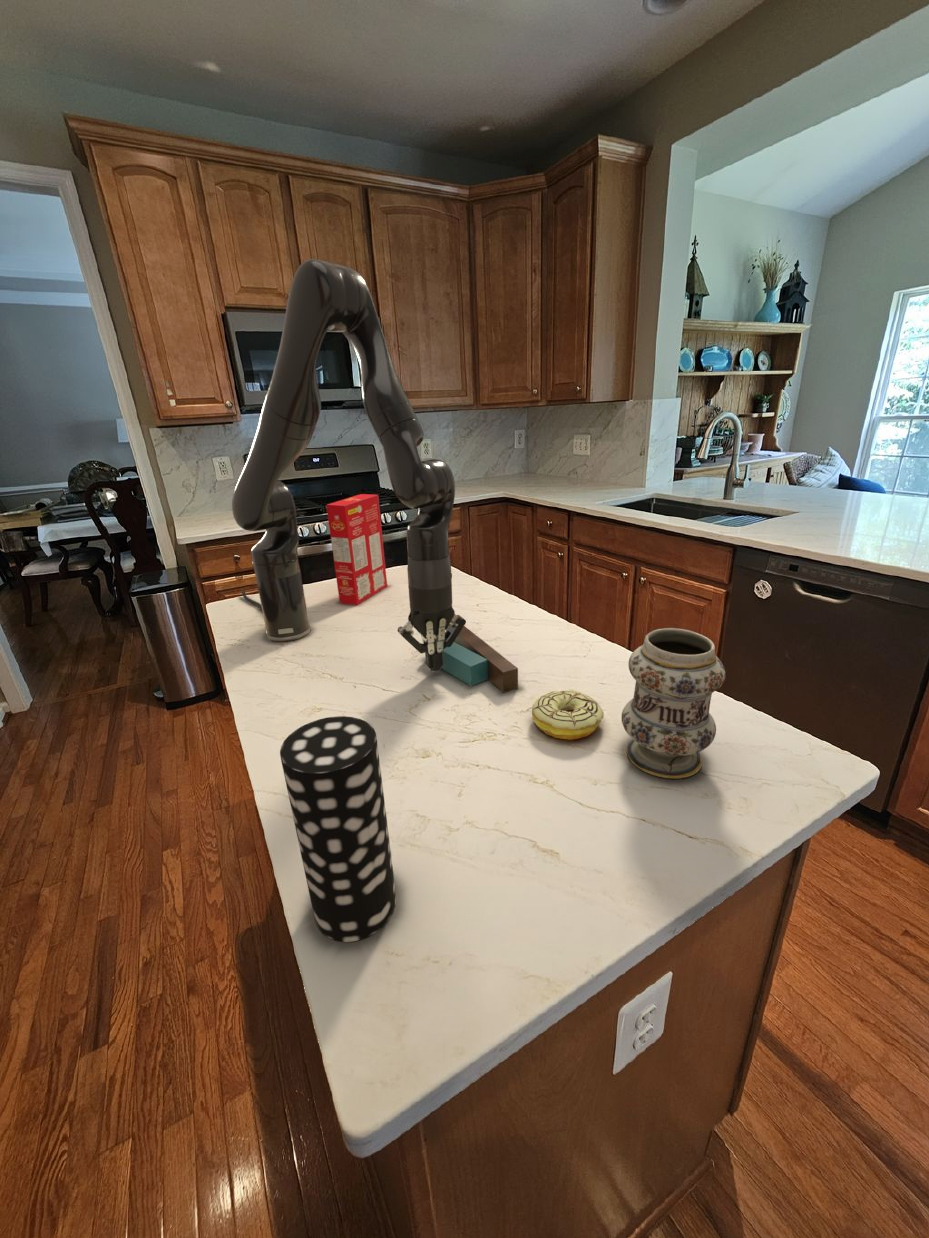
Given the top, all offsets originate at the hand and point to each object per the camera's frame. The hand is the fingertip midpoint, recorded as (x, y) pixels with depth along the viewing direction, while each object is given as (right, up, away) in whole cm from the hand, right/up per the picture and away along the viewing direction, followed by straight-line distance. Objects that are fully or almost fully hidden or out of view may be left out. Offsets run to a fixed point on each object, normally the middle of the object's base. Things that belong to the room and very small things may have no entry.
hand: (434, 669), depth 98 cm
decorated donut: (+22, -7, -16) cm, 28 cm away
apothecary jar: (+34, -10, -24) cm, 42 cm away
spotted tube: (-6, -20, -44) cm, 49 cm away
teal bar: (+4, 0, +2) cm, 5 cm away
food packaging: (-21, +16, +43) cm, 50 cm away
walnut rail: (+8, +1, +4) cm, 9 cm away
